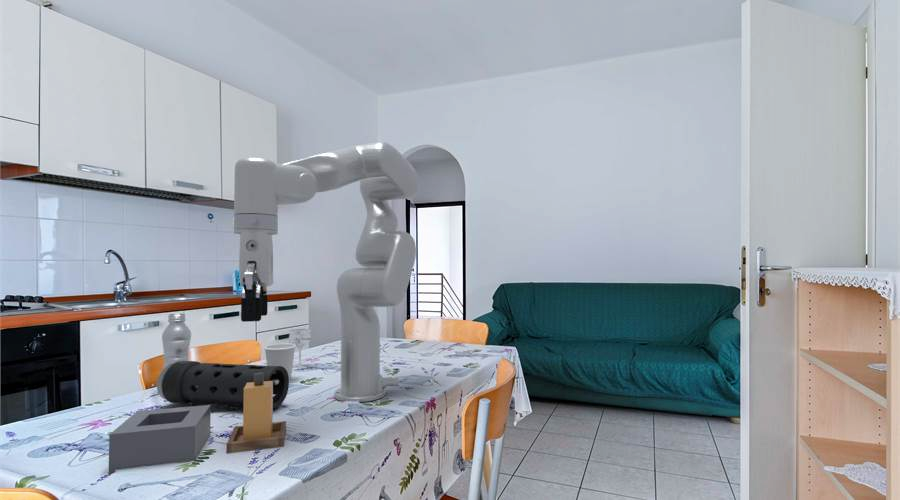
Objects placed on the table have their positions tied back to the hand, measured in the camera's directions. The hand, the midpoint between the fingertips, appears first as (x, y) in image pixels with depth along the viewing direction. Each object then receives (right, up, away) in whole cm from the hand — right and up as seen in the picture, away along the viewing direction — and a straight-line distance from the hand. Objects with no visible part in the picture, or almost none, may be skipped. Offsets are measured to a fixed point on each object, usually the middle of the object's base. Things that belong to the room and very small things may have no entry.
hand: (255, 318), depth 84 cm
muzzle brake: (-16, -24, +20) cm, 35 cm away
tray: (+1, -23, -1) cm, 23 cm away
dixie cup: (-12, -25, +43) cm, 51 cm away
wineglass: (-11, -25, +60) cm, 66 cm away
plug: (+1, -22, -1) cm, 22 cm away
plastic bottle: (-35, -24, +33) cm, 53 cm away
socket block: (-13, -23, -6) cm, 27 cm away
